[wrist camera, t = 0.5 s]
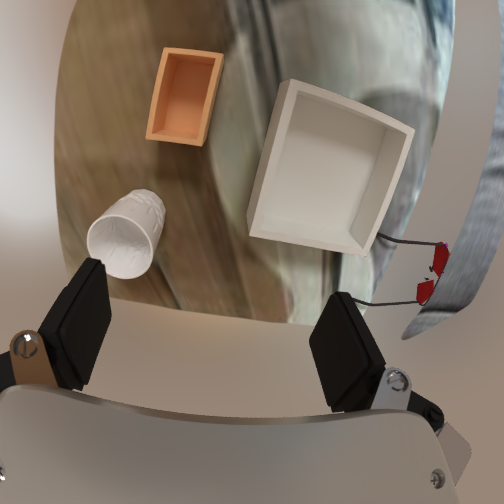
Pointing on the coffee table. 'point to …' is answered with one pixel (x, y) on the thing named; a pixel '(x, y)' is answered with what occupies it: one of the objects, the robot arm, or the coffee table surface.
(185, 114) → the orange crate
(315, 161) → the box
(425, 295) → the glasses
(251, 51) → the coffee table surface
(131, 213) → the white cup
